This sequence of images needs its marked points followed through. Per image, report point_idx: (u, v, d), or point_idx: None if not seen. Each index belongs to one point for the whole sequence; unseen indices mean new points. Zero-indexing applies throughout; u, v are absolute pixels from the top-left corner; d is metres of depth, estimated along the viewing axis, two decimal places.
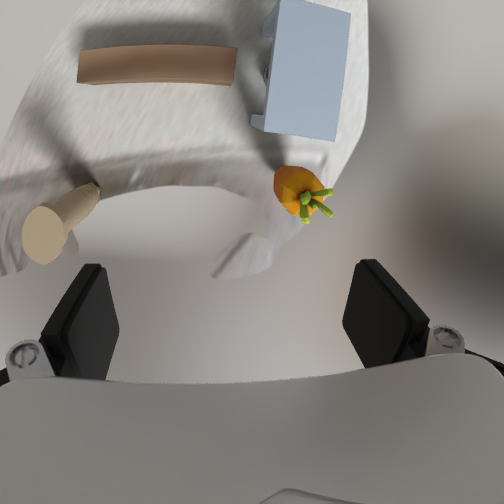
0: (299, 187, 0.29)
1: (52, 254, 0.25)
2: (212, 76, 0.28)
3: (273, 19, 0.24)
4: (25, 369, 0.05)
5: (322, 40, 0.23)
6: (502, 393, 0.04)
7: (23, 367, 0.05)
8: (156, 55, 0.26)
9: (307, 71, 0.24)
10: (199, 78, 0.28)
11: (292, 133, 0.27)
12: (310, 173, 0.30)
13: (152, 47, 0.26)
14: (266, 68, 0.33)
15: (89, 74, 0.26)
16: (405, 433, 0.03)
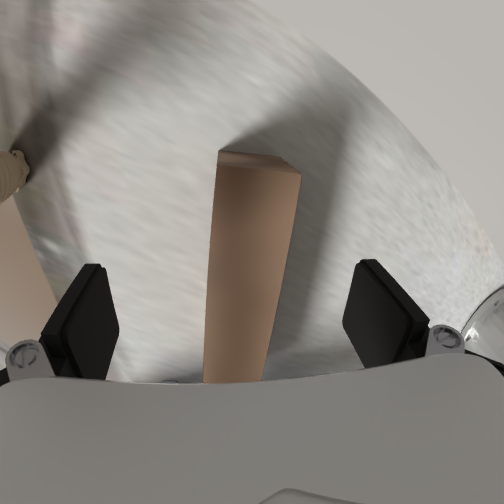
0: None
1: None
2: None
3: None
4: (25, 369, 0.05)
5: None
6: (502, 393, 0.04)
7: (23, 367, 0.05)
8: (250, 331, 0.18)
9: None
10: (204, 381, 0.20)
11: None
12: None
13: (267, 324, 0.18)
14: None
15: (232, 201, 0.14)
16: (405, 433, 0.03)
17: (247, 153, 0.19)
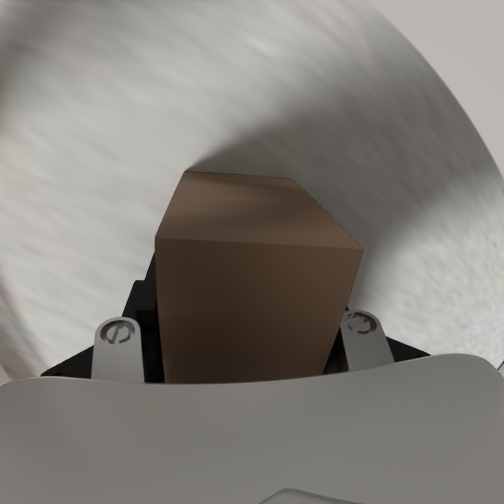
0: None
1: None
2: None
3: None
4: (113, 346, 0.06)
5: None
6: (502, 393, 0.04)
7: (112, 343, 0.07)
8: None
9: None
10: None
11: None
12: None
13: None
14: None
15: (202, 315, 0.06)
16: (405, 433, 0.03)
17: (236, 175, 0.11)
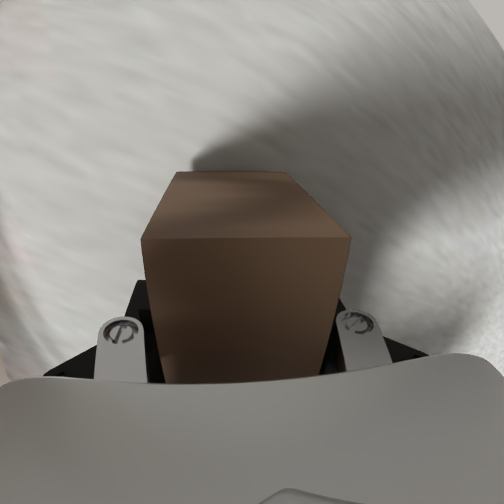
0: None
1: None
2: None
3: None
4: (116, 345, 0.06)
5: None
6: (502, 393, 0.04)
7: (115, 343, 0.07)
8: None
9: None
10: None
11: None
12: None
13: None
14: None
15: (193, 312, 0.06)
16: (405, 433, 0.03)
17: (228, 172, 0.11)
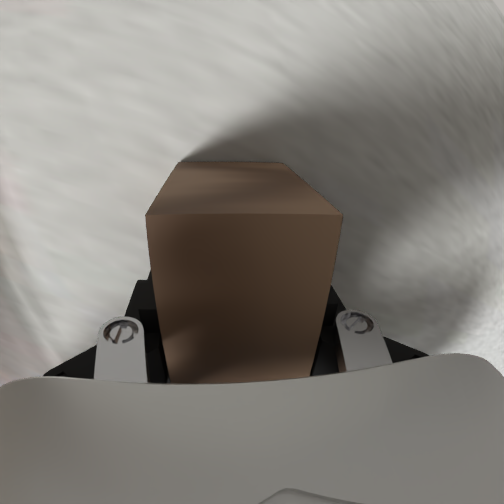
0: None
1: None
2: None
3: None
4: (116, 345, 0.06)
5: None
6: (502, 393, 0.04)
7: (115, 343, 0.07)
8: None
9: None
10: None
11: None
12: None
13: None
14: None
15: (194, 287, 0.07)
16: (405, 433, 0.03)
17: (227, 163, 0.11)
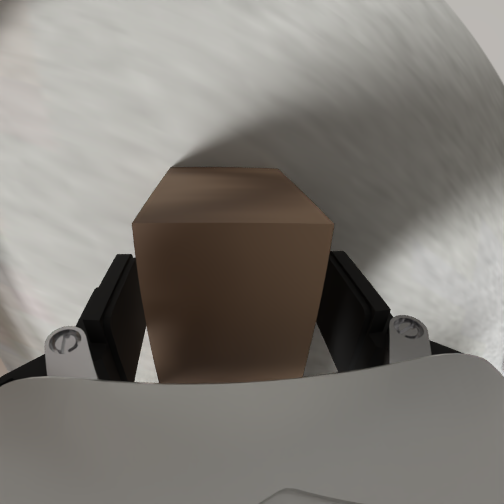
0: None
1: None
2: None
3: None
4: (63, 355, 0.06)
5: None
6: (502, 393, 0.04)
7: (62, 353, 0.06)
8: None
9: None
10: None
11: None
12: None
13: None
14: None
15: (182, 296, 0.06)
16: (405, 433, 0.03)
17: (220, 167, 0.11)
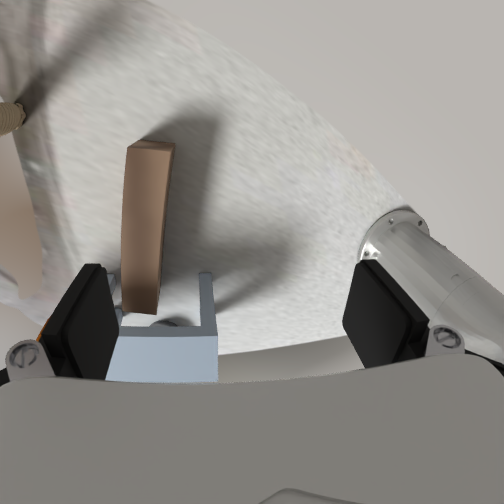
0: None
1: None
2: (125, 295, 0.31)
3: (200, 312, 0.31)
4: (25, 369, 0.05)
5: (179, 367, 0.29)
6: (502, 393, 0.04)
7: (23, 367, 0.05)
8: (147, 245, 0.29)
9: (144, 360, 0.28)
10: (122, 284, 0.30)
11: None
12: None
13: (157, 241, 0.29)
14: (168, 324, 0.40)
15: (134, 166, 0.25)
16: (405, 433, 0.03)
17: (155, 141, 0.30)
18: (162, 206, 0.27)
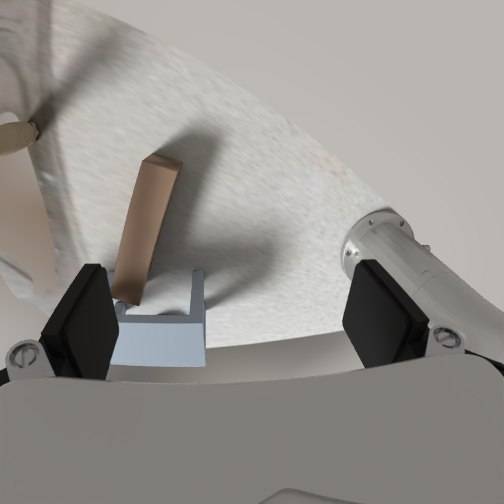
0: None
1: None
2: (115, 284, 0.35)
3: (190, 304, 0.36)
4: (25, 369, 0.05)
5: (170, 351, 0.34)
6: (502, 393, 0.04)
7: (23, 367, 0.05)
8: (142, 246, 0.34)
9: (140, 344, 0.33)
10: (115, 274, 0.35)
11: None
12: None
13: (151, 244, 0.34)
14: None
15: (145, 177, 0.30)
16: (405, 433, 0.03)
17: None
18: (162, 216, 0.32)
